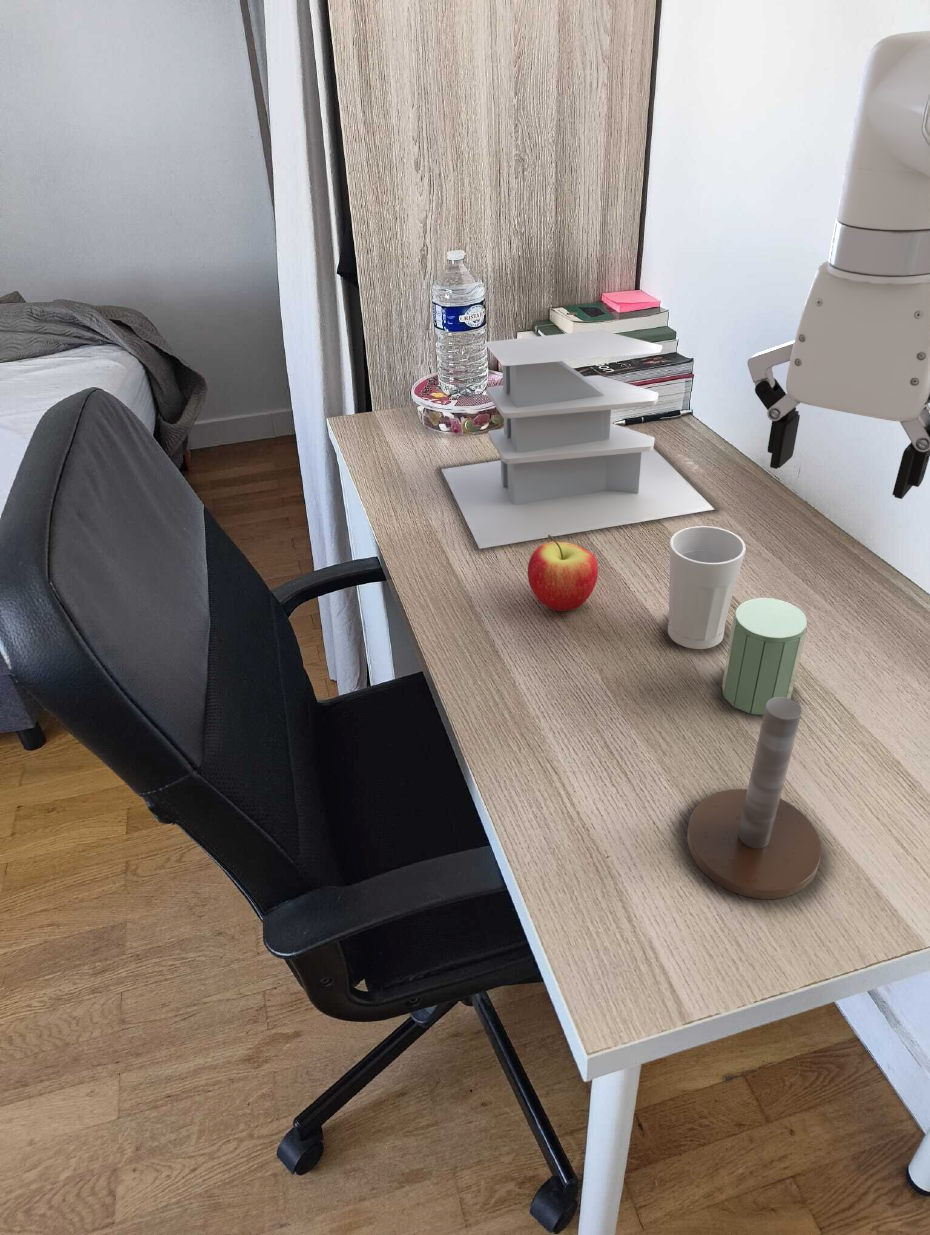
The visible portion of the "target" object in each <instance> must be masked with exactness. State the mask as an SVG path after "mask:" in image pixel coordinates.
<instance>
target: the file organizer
mask: <svg viewBox="0 0 930 1235" xmlns="http://www.w3.org/2000/svg"><path fill="white" fill-rule="evenodd" d="M484 345H485V346H486V347H487V349H488V350H489V351H490V352H491V354H492V355H493V356H494V358H496V360H497V361H498V363H500V365H501V367H502V368H501V369H502V385H495V386H493V385H492V386H488V387H486V395H487V397H488V398H489V399H490V401H491V402H492V404H493V405H494V406H495V408H496V410H497V411H498V412H499V414H500V415H501V417H502V418H503V428H497V429H490V430H488V431H487V433H488V434H487V435H488V436H487V437H488V440H489V441H490V442H491V444H492V446H493V447H494V449H495V450H496V452H497V453H498V455H499V457H500V460H494V461H488V462H481V463H480V462H479V463H474V464H467V465H461V466H454V467H448V468H441V472H442V474H443V477H444V478H445V480H446V483H447V484H448V487H449V489H450V490H451V492H452V495H453V497H454V499H455V501H456V504H457V505H458V507H459V509H460V512H461V513H462V515H463V517H464V520H465V523H466V524H467V526H468V528H469V530H470V532H471V534H472V537H473V538H474V541H475V542H476V546H477V547H478V548H479V550H482V549H488V548H493V547H498V546H499V547H500V546H504V545H511V544H516V543H517V544H518V543H523V542H528V541H534V540H535V541H536V540H541V539H546V538H549V537H548V535H551V536H552V537H553V538H554V537H559V536H564V535H570V534H576V533H582V532H583V533H584V532H587V531H594V530H595V531H596V530H599V529H606V528H612V527H619V526H623V525H624V526H626V525H631V524H637V523H643V522H648V521H649V522H650V521H654V520H660V519H666V518H672V517H678V516H685V515H689V514H690V515H691V514H695V513H702V512H708V511H713V510H716V509H715V508H714V507H713V505H711V504H710V503H709V502H708V501H707V500H706V499H705V498H704V497H703V496H702V495H701V494H700V493H699V492H698V491H697V490H696V489H695V488H694V487H693V486H692V485H691V484H690V483H689V482H688V481H687V480H686V479H685V478H684V477H683V476H682V475H681V474H680V473H679V472H678V471H677V470H676V469H675V468H674V467H673V466H672V465H671V464H670V463H669V462H668V461H667V460H666V459H665V458H664V457H663V456H662V455H661V454H660V453H659V451H657V449H655V448H654V446H655V441H656V440H655V439H656V438H655V437H654V436H651V435H649V434H645V433H642V432H641V431H640V432H639V431H637V430H634V429H630V428H627V427H624V426H621V425H618V424H615V423H613V422H611V416H612V410H621V409H634V408H644V407H653V406H657V403H658V401H659V392H657V391H654V390H650V389H647V388H644V387H640V386H638V385H634V384H631V383H627V382H624V381H620V380H617V379H613V378H611V377H610V378H609V377H606V376H603V375H599V374H598V375H595V374H594V375H586V376H584V375H583V374H581V373H580V372H579V371H577V370H576V369H575V368H574V367H571V366H570V365H569V364H567V363H566V362H567V361H568V362H570V361H580V360H581V361H582V360H592V359H604V358H605V359H606V358H615V357H626V356H628V357H629V356H638V355H651V354H653V355H654V354H660V353H661V352H662V349H663V345H662V344H658V343H654V342H649V341H645V340H643V339H638V338H634V337H631V336H625V335H621V334H618V333H615V332H614V333H613V332H610V331H607V330H599V329H598V330H587V331H579V332H568V333H560V334H559V333H558V334H549V335H541V336H540V335H539V336H528V337H520V338H510V339H500V340H491V341H490V340H489V341H486V342H484Z"/></svg>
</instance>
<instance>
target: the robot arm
mask: <svg viewBox="0 0 930 1235" xmlns="http://www.w3.org/2000/svg"><path fill="white" fill-rule="evenodd" d="M857 95H858V96H857V101H856V105H855V106H856V107H855V112H854V118H853V123H852V128H851V134H850V140H849V144H848V151H847V155H846V156H847V157H846V160H845V166H844V167H845V168H844V173H843V178H842V184H841V190H840V195H839V201H838V205H837V211H836V216H835V222H834V228H833V235H832V239H831V245H830V249H829V250H830V251H829V257H828V260H826V261H824V262H823V263H822V264H821V265H819V266H818V268H817V270H816V272H815V275H814V278H813V280H812V282H811V286H810V288H809V291H808V294H807V297H806V300H805V303H804V305H803V309H802V313H801V315H800V319H799V322H798V325H797V329H796V333H795V336H794V340H791V341H789V342H786V343H783V344H780V345H778V346H777V345H776V346H775V347H772V348H769V349H766V350H763V351H760V352H758V353H756V354H754V355H753V356H751V357H750V358H749V359H748V360H747V362H746V363H747V368H748V370H749V374H750V377H751V379H752V383H754V386H755V387H754V393H755V394H756V396H757V397H758V399H759V400H760V401H761V403H762V405H763V406H764V407H765V409H766V410H767V412H766V415H767V418H768V419H769V420H770V421H771V426H770V431H769V438H768V444H767V453H769V454H771V457H770V461H769V462H770V463H769V468H770V469H775V470H778V469H780V468H781V467H783V466H784V465H785V464H786V463H787V462H788V461H789V460H791V459H792V458H793V456H794V451H795V445H796V441H797V435H798V429H799V425H800V424H799V423H800V419H801V415H800V414H799V410H797V406H798V405H800V404H804V405H807V406H812V407H816V408H821V409H826V410H832V411H837V412H841V413H848V414H853V415H858V416H863V417H869V418H874V419H878V420H885V421H890V422H899V423H900V426H902V429H903V431H904V432H905V434H906V436H907V437H908V439H909V440H910V443H909V444H908V445H907V446H906V448H904V450H903V452H902V456H901V458H900V464H899V467H898V472H897V475H896V479H895V482H894V487H893V490H892V494H891V495H892V496H894V497H893V498H896V499H899V500H902V499H904V498H905V496H906V495H907V494H908V492H909V491H910V490H911V489H912V488H913V487H915V488H916V487H917V488H919V487H920V486H921V484H922V482H923V480H924V478H925V475H926V471H927V468H928V464H929V461H930V405H929V404H930V30H922V31H912V32H911V31H910V32H909V31H908V32H901V33H897V34H896V33H895V34H892V35H889V36H886V37H884V38H882V39H880V40H879V41H878V42H877V43H876V44H875V45H874V46H873V47H872V48H871V49H870V50H869V53H868V55H867V57H866V59H865V62H864V65H863V68H862V74H861V79H860V85H859V89H858V94H857ZM787 362H788V367H787V374H786V381H785V382H786V383H785V389H786V391H785V390H784V388H783V387H782V385H780V383H779V381H778V380H777V379H776V378H775V377H774V372H773V367H775V366H779V365H781V364H785V363H787Z"/></svg>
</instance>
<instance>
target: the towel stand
mask: <svg viewBox="0 0 930 1235" xmlns="http://www.w3.org/2000/svg"><path fill="white" fill-rule="evenodd" d="M802 712H803V710H802V707H801V705H800V704H799V703H798V702H796V701H795V700H794V699H792V698H791V699H789V698H785V697H775V698H772V699H770V700H768V701H767V703H766V706H765V711H764V715H762V720H761V725H760V730H759V734H758V738H757V743H756V749H755V752H754V758H753V762H752V767H751V770H750V776H749V780H748V785H747V788H734V789H726V790H721V791H719V792H716V793H713V794H711V795H709V796H707V797H706V798H704V799H702V800H701V801H700V802H699V803H698V804H697V805H696V806H695V808H694V809H693V811H692V813H691V815H690V817H689V820H688V821H689V822H688V825H687V833H686V834H687V835H686V838H687V845H688V846H687V847H688V849H689V852H690V854H691V856H692V858H693V860H694V862H695V864H696V865H697V866H698V867H699V869H700V870H701V871H702V873H704V875H706V876H707V877H708V878H710V880H712V881H713V882H714V883H716V884H717V885H718V886H720V887H721V888H724V889H725V890H727V891H730V892H732V893H735V894H738V895H740V896H744V897H747V898H751V899H758V900H777V899H782V898H787V897H790V896H794V895H795V894H797V893H799V892H801V891H802V890H804V889H806V887H808V886H809V885H810V884H811V883H812V881H813V880H814V878H815V877H816V876H817V875H816V874H817V872H818V870H819V866H820V863H821V858H822V845H821V840H820V837H819V834H818V832H817V830H816V829H815V827H814V825H813V824H812V822H811V821H810V820H809V819H808V817H807V816H806V815H805V814H804V813H803V812H802V811H800V810H799V809H798V808H796V807H795V806H794V805H793V804H791V803H789V802H788V801H787V800H784V799H782V798H781V797H782V793H783V788H784V786H785V785H784V784H785V781H786V777H787V773H788V769H789V764H790V761H791V757H792V753H793V749H794V745H795V741H796V736H797V734H798V733H797V731H798V729H799V726H800V721H801V716H802Z"/></svg>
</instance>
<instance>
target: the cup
mask: <svg viewBox="0 0 930 1235" xmlns="http://www.w3.org/2000/svg"><path fill="white" fill-rule="evenodd" d="M746 549H747V548H746V543H745V541H744V539H742V538H741V537H740V536H739V535H738V534H736V533H734V532H732V531H730V530H727V529H725V528H721V527H717V526H711V525H710V526H708V525H697V526H689V527H685V528H682V529H680V530H678V531H676V532H675V533H674V534H672V536H671V537H670V540H669V588H668V589H669V590H668V592H669V593H668V623H667V624H668V625H667V634H668V637H670V639H671V640H672V641H673V642H674V643H676V644H678V645H679V646H682V647H684V648H686V649H687V648H688V649H691V650H692V649H693V650H706V649H707V650H708V649H711V648H714V647H716V646H718V645H719V644H720V643H721V642H722V641H723V639H724V634H725V628H726V623H727V619H728V614H729V611H730V606H731V604H732V600H733V599H732V598H733V595H734V591H735V588H736V584H737V580H738V577H739V576H740V572H741V568H742V565H743V560H744V558H745V554H746V551H747V550H746Z"/></svg>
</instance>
